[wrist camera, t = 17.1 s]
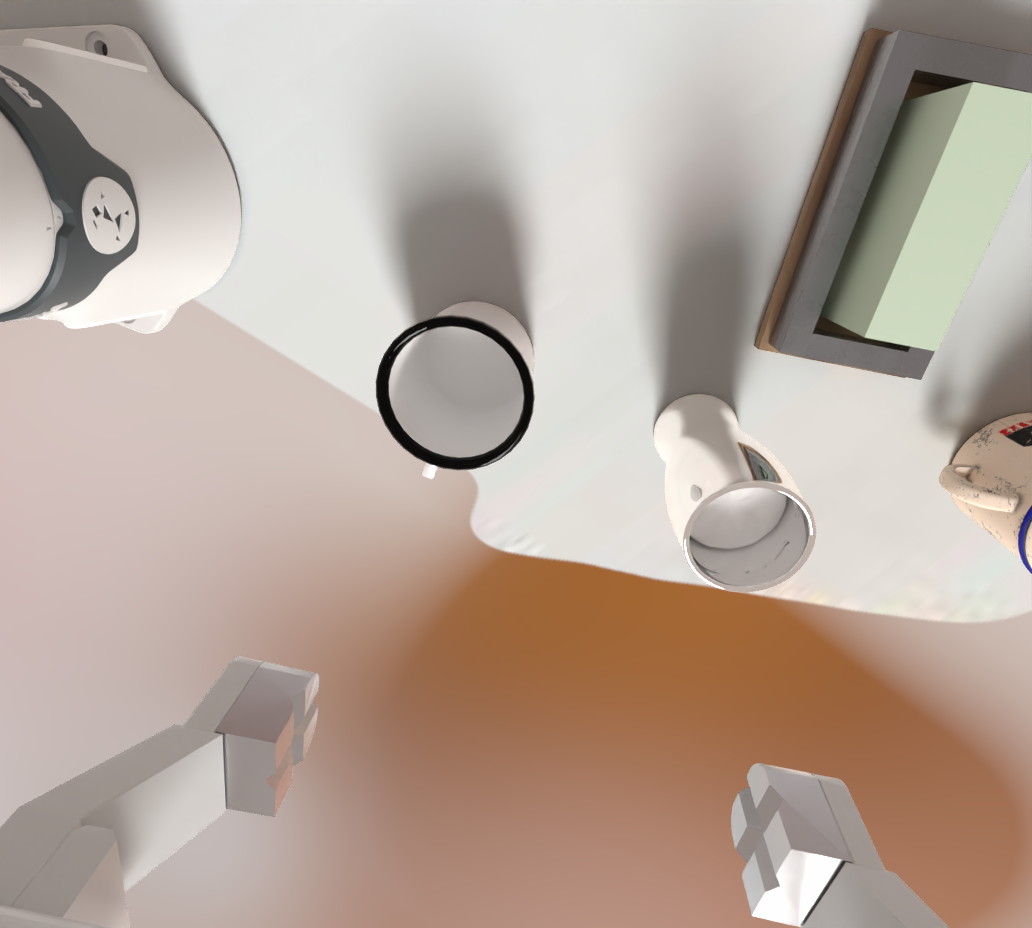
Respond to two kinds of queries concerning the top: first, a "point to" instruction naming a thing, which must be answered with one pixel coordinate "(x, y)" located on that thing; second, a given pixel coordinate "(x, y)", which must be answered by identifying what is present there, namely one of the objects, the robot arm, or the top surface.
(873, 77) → the locating frame
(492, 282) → the top surface
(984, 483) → the teacup with lid
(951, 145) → the green bar
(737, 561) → the white tumbler
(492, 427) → the mug
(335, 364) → the top surface
